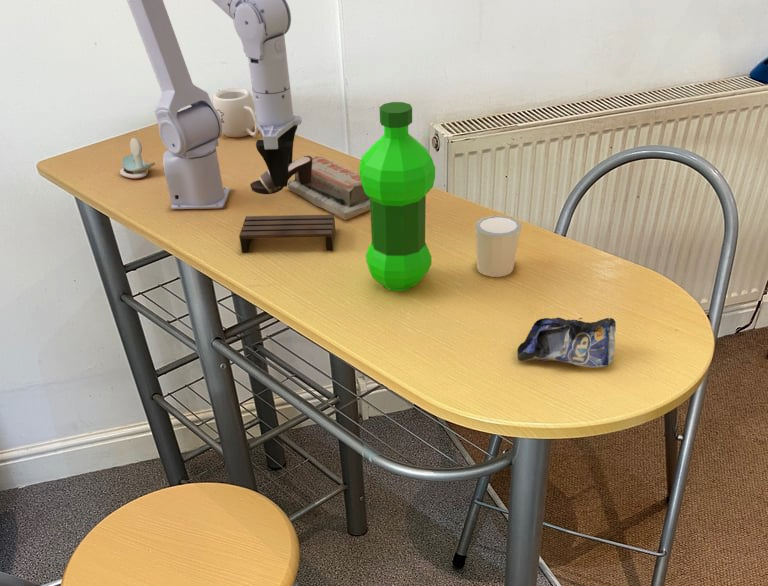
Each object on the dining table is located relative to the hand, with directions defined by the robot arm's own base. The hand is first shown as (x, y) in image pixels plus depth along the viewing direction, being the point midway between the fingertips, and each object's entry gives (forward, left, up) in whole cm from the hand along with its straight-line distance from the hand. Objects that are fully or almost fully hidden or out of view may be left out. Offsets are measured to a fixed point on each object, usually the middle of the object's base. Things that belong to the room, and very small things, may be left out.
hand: (283, 178), depth 125 cm
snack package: (+41, -39, -9) cm, 57 cm away
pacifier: (-33, +25, -9) cm, 42 cm away
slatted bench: (+1, -5, -9) cm, 10 cm away
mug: (-15, +44, -9) cm, 47 cm away
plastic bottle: (+19, -19, -9) cm, 28 cm away
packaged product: (+7, +12, -9) cm, 17 cm away
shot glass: (+34, -15, -9) cm, 38 cm away
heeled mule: (0, +1, -2) cm, 2 cm away
